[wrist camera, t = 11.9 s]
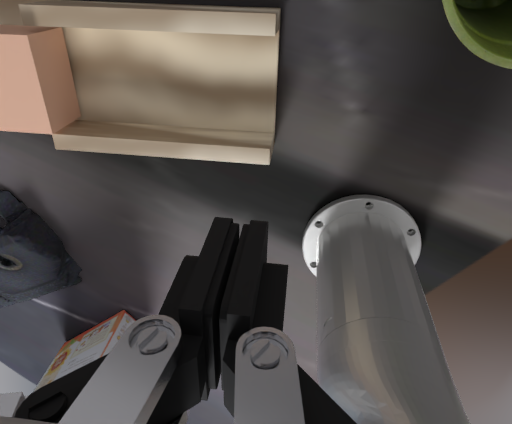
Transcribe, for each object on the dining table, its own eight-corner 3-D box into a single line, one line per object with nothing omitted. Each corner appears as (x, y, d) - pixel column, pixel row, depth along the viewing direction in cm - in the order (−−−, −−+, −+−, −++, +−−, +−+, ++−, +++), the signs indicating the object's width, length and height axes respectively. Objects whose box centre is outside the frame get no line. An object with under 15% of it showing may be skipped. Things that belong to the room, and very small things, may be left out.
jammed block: (81, 116, 39) (52, 134, 35) (23, 112, 40) (-12, 129, 35) (61, 26, 35) (27, 35, 31) (-2, 24, 35) (-45, 32, 31)
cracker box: (93, 364, 62) (5, 521, 45) (64, 341, 60) (-41, 496, 42) (155, 334, 57) (83, 500, 39) (125, 307, 55) (34, 470, 37)
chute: (274, 143, 39) (269, 164, 35) (37, 127, 42) (5, 145, 38) (280, 7, 33) (276, 13, 29) (0, -3, 35) (-42, 2, 31)
